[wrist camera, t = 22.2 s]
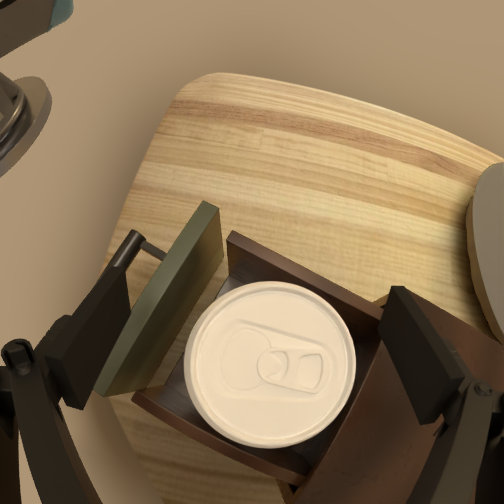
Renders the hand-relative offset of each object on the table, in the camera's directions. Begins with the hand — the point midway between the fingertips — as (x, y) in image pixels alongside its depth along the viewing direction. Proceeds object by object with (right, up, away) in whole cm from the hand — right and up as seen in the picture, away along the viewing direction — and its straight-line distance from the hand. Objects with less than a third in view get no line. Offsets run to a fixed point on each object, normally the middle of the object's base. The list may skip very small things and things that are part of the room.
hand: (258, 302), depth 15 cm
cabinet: (+12, -13, +9) cm, 20 cm away
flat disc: (+36, 0, +15) cm, 39 cm away
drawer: (-2, -6, +10) cm, 12 cm away
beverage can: (0, -7, +9) cm, 11 cm away
